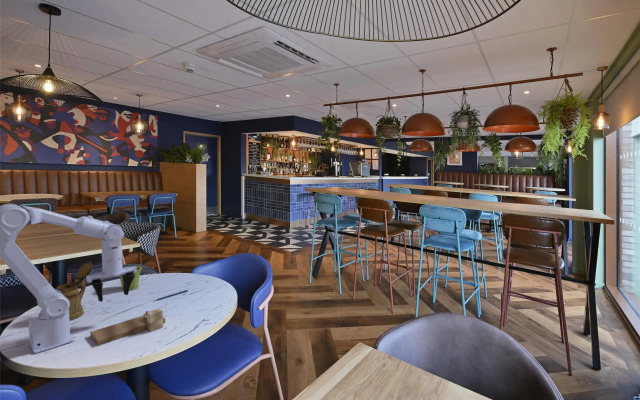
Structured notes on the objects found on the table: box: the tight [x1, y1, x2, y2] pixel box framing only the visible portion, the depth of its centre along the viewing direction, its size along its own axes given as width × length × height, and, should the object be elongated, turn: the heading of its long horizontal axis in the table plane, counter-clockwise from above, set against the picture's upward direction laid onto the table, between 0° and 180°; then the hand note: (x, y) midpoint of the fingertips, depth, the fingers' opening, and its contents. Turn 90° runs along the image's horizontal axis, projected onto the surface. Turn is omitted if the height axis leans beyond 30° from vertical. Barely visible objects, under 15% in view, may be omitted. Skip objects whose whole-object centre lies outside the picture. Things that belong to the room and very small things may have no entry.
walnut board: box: [89, 315, 166, 346], centre depth 106 cm, size 20×8×2 cm, turn 140°
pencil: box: [153, 289, 188, 302], centre depth 135 cm, size 1×1×15 cm
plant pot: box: [119, 265, 143, 291], centre depth 142 cm, size 9×9×9 cm
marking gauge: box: [142, 308, 164, 333], centre depth 109 cm, size 4×8×6 cm, turn 50°
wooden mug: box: [55, 260, 94, 321], centre depth 116 cm, size 9×14×18 cm, turn 161°
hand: (113, 297), depth 109 cm, fingers open, 7 cm apart
